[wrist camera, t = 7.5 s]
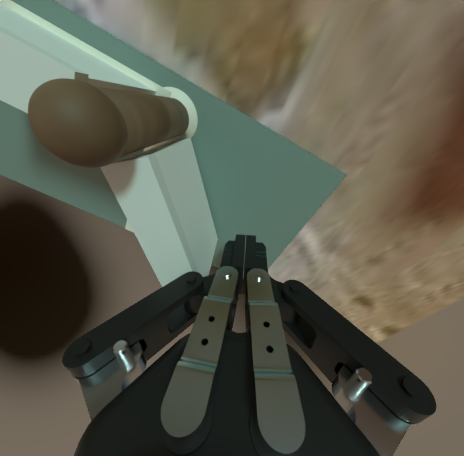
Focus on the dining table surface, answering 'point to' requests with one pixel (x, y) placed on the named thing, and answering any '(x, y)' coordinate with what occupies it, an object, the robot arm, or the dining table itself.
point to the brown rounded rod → (101, 121)
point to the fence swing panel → (166, 208)
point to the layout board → (199, 130)
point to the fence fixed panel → (48, 62)
